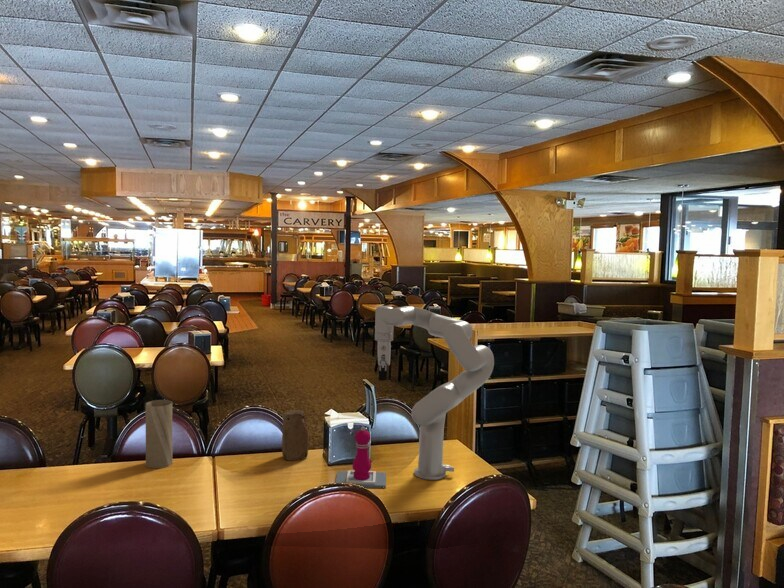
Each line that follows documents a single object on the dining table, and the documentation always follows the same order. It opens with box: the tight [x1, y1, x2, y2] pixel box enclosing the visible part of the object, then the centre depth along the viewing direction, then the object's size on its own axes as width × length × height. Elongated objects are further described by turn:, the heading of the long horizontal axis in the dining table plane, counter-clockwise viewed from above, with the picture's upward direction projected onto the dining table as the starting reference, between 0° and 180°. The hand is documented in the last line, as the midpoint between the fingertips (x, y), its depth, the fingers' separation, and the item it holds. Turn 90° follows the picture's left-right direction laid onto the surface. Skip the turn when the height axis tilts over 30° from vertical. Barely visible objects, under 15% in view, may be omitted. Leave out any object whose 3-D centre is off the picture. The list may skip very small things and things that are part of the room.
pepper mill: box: [352, 426, 372, 480], centre depth 238 cm, size 7×7×20 cm
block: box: [281, 409, 310, 462], centre depth 259 cm, size 11×8×20 cm
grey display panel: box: [334, 470, 387, 489], centre depth 238 cm, size 19×13×2 cm
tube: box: [145, 399, 173, 470], centre depth 248 cm, size 10×10×25 cm
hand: (382, 377), depth 253 cm, fingers open, 9 cm apart
